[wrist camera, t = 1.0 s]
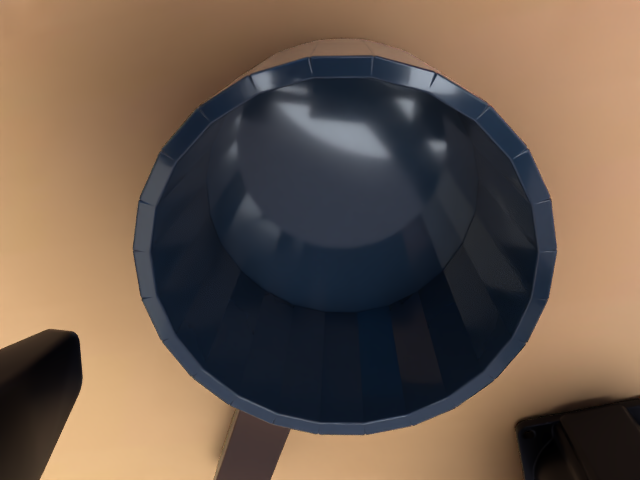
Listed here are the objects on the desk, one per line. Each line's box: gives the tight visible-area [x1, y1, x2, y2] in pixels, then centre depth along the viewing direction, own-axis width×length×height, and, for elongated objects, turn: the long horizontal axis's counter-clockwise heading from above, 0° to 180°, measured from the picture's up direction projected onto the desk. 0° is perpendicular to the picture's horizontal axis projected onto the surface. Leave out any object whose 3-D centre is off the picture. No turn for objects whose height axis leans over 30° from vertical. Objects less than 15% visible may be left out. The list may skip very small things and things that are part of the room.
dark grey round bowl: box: [133, 38, 557, 435], centre depth 17 cm, size 11×11×7 cm
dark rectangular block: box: [214, 409, 290, 480], centre depth 24 cm, size 7×2×3 cm, turn 162°
